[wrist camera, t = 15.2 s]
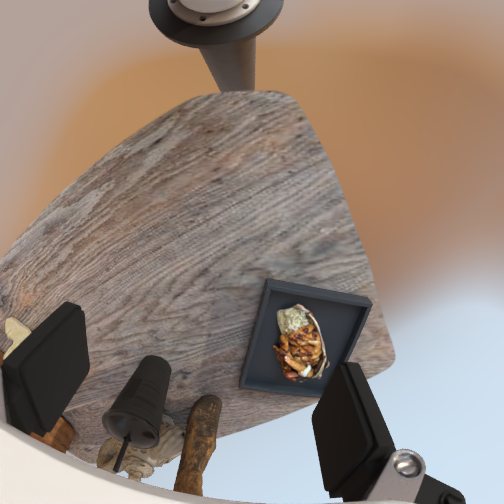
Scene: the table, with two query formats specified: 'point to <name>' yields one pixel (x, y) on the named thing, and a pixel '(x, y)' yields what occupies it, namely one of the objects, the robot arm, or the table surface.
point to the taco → (300, 344)
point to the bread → (54, 431)
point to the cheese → (15, 333)
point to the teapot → (144, 452)
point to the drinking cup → (139, 407)
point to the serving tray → (331, 328)
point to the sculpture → (198, 444)
